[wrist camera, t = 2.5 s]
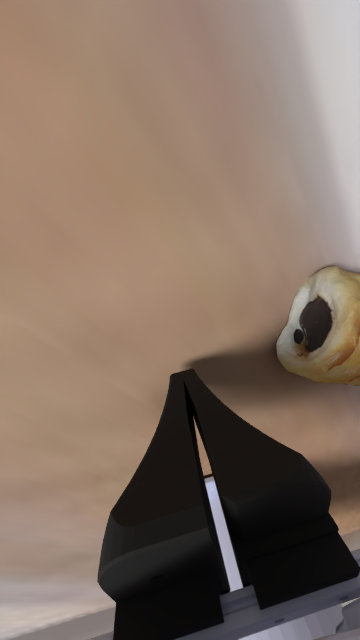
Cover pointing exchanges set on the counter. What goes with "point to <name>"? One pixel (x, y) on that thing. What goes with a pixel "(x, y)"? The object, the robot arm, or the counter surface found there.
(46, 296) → the counter surface
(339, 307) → the pastry
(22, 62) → the counter surface
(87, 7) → the counter surface
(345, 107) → the counter surface
